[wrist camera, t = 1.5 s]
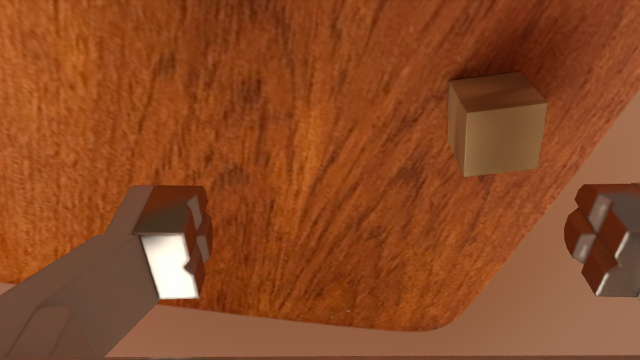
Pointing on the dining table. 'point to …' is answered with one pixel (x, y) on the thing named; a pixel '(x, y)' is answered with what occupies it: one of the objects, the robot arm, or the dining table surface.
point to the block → (495, 123)
